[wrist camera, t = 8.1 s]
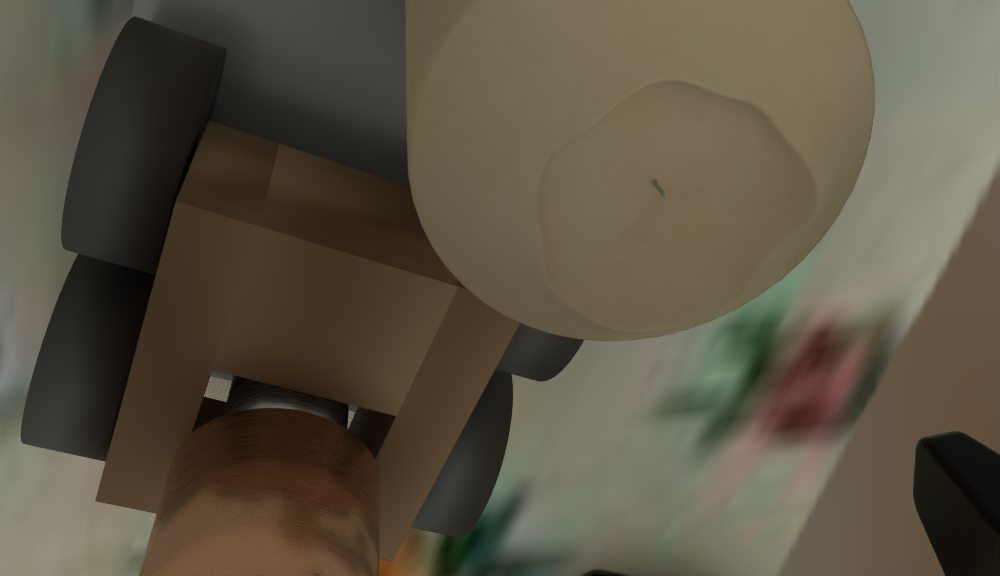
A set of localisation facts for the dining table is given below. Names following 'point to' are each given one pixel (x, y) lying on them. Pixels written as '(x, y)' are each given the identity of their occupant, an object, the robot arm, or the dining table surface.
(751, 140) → the candle
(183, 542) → the stop pin
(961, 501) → the robot arm
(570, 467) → the dining table surface
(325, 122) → the ramp board
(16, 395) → the dining table surface
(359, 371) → the trolley
